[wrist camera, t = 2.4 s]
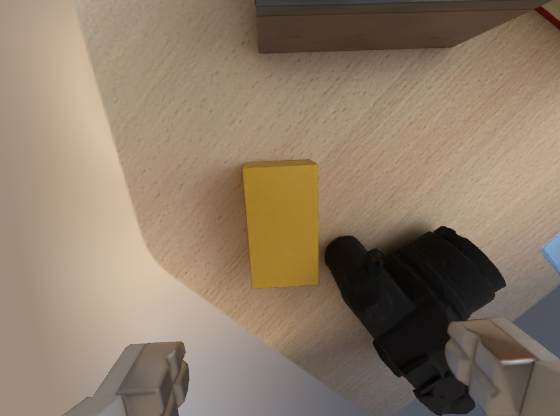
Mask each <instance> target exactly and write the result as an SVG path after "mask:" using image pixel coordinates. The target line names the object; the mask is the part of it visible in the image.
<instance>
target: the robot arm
mask: <svg viewBox="0 0 560 416" xmlns="http://www.w3.org/2000/svg"><path fill="white" fill-rule="evenodd" d="M447 333H448V334H449V335H450V337H451V339H450V340H449V341H448V342H447V343H446V344H445V357H446V361H447V364H448V366H449V368H450V370H451V372H452V373H453V374H454V376H455V377H456V378H457V380H459V381H461V382H462V383H464V384H465V385H467V386H468V393H469V395H470V396H471V398H472V399H473V400H474V402H475V403H476V404H477V405H478V407H479V408H480V409H481V410H482V412H483V413H484V414H485V416H560V359H558V358H557V357H556V356H555V355H553V354H552V353H551V352H549V351H548V350H547V349H545V348H544V347H543V346H542V345H540V344H539V343H538V342H536V341H535V340H534V339H532V338H531V337H530V336H528V335H527V334H526V333H524V332H523V331H522V330H520V329H519V328H518V327H517V326H515V325H514V324H513V323H511V322H510V321H509V320H507V319H505V318H502V317H494V318H484V319H475V320H463V321H451V323H450V324H449V325H448V331H447ZM184 355H185V347H184V343H183V342H160V343H147V344H130V345H129V346H127V347H126V348H125V349H124V351H123V352H122V354H121V356H120V357H119V359H118V360H117V361H116V363H115V364H114V366H113V367H112V369H111V370H110V372H109V373H108V375H107V376H106V378H105V379H104V381H103V382H102V384H101V385H100V387H99V388H98V390H97V391H96V393H95V394H94V396H93V397H87V398H85V399H84V400H83V401H81V402H80V403H79V404H77V405H76V406H74V407H73V408H72V409H70V410H69V411H68V412H66V413H65V414H64V415H63V416H179V414H178V408H179V407H180V406H181V404H183V402H184V401H185V397H186V394H187V391H188V383H189V368H188V364H187V363H186V362H185V361H184V360H183V358H184Z"/></svg>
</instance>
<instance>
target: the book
mask: <svg viewBox="0 0 560 416" xmlns="http://www.w3.org/2000/svg"><path fill="white" fill-rule="evenodd" d="M535 10H537V11H538V12H539V13H540V14H541V15H543V16H544V17H545V18H546V19H548V20H549V21H550V22H551V23H553V24H554V25H555V26H556V27H558V28H559V29H560V0H552V1H550V2H548V3H546V4H544V5H541V6H539V7H537V8H535Z"/></svg>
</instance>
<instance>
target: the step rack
mask: <svg viewBox="0 0 560 416" xmlns="http://www.w3.org/2000/svg"><path fill="white" fill-rule="evenodd" d="M550 1H552V0H255V7H256V21H257V34H258V48H259V53H288V52H320V51H351V50H383V49H414V48H446V47H454V46H456V45H458V44H460V43H462V42H464V41H467V40H469V39H471V38H473V37H475V36H477V35H479V34H482V33H484V32H486V31H488V30H490V29H492V28H494V27H497V26H499V25H501V24H503V23H505V22H507V21H509V20H512V19H514V18H516V17H518V16H520V15H522V14H524V13H526V12H529V11H531V10H533V9H535V8H537V7H539V6H541V5H544V4H546V3H548V2H550Z"/></svg>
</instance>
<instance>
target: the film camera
mask: <svg viewBox="0 0 560 416" xmlns="http://www.w3.org/2000/svg"><path fill="white" fill-rule="evenodd" d="M378 253H381V254H382V255H383V256H382V259H380V260H378V261H376V260H375V259H374V258H375V257H376V256H377V254H378ZM325 263H326V265H327V266H328V267H329V269H330V271H331V273H332V275H333V277H334V279H335V281H336V283H337V285H338V287H339V290H340V292H341V294H342V298H343V299H344V301H345V302H346V304H347V305H348V306H349V308H350V309H351V310H352V311H353V313H354V314H355V315H356V316H357V317H358V318H359V320H360V321H361V322H362V324H363V325H364V326H365V327H366V329H367V330H368V331H369V333H370V334H371V335H372V336H373V337H374V341H373V345H374V347H375V349H376V351H377V353H378V355H379V357H380V358H381V360H382V361H383V362H384V363H385V364H386V365H387V366H388V367H389V368H390V369H391V371H392V372H393V373H394V374H395V375H396V376H397V377H401V376H403V377H405V378H406V379H407V380H408V381H409V382H410V384H412V386H413V387H414V388H415V390H413V392H414V394H415V396H416V398H417V399H418V400H419V401H420V402H421V403H423V404H424V405H425V406H426V407H428V409H429V410H431V411H432V412H434V413H435V414H436V415H440V416H442V414H467V413H468V412H470V411H471V410H473V408H474V407H475V402H474V400H473V399H472V398H471V396H470V395H469V393H468V386H467V385H465V384H464V383H462V382H461V381H459V380H457V378H456V377H455V376H454V374H453V373H452V372H451V370H450V368H449V366H448V364H447V361H446V357H445V344H446V343H447V342H448V341H449V340H450V339H451V337H450V335H449V334H448V333H447V331H448V325H449V324H450V323H451V321H463V320H467V319H468V318H470V315H471V314H472V313H473V312H475V311H476V310H478V309H480V308H481V307H483V306H485V305H486V304H487V303H489V302H490V301H492V300H493V299H494V297H495V292H497V291H498V290H500V289H501V288H504V287H505V286H506V283H505V280H504V278H503V277H502V275H501V273H500V272H499V270H498V269H497V268H496V266H495V265H494V264H493V263H492V262H491V261H490V260H489V259H488V257H487V256H486V255H485V254H484V253H483V252H482V251H481V250H480V249H479V248H478V247H476V246H475V245H474V244H473V243H472V242H471V241H469V240H468V239H467V238H464V237H461V236H459V235H457V234H456V231H454V230H453V229H451V228H447V227H445V226H441V227H439V228H438V229H436V230H435V231H434V232H430V231H429V232H427V233H425V234H424V235H422V236H421V237H420V238H418V239H417V240H416V241H415V242H413V243H412V244H411V245H410V246H408V247H404V248H403V249H401V250H400V251H399V252H398V254H397V255H396V256H393V255H387V256H386V257H385V256H384V254H383V253H382V252H381V251H379V250H378V249H377V248H376V249H373V250H371V251H369V252H368V251H367V250H366V249H365V247H364V246H363V245H362V244H361V243H360V242H359V241H358V240H357V239H356V238H355V237H353V236H343V237H339V238H337V239H336V240H334V241H333V242H332V243H331V244H329V246H328V248H327V251H326V254H325Z"/></svg>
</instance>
